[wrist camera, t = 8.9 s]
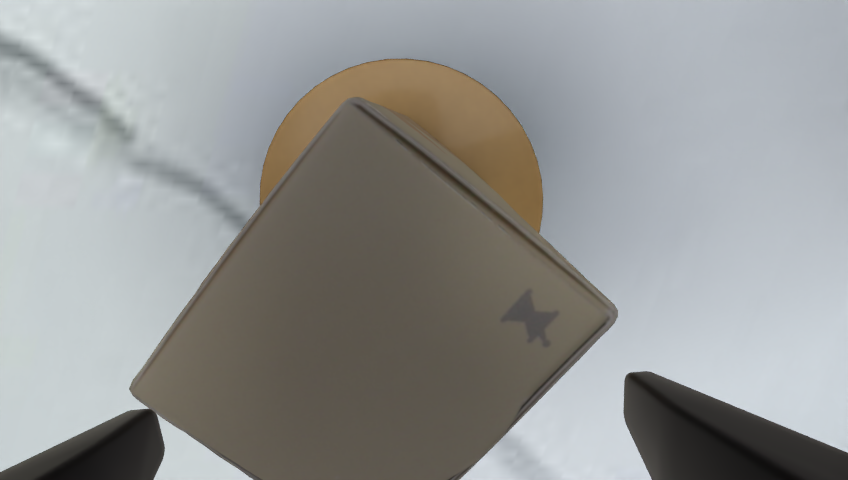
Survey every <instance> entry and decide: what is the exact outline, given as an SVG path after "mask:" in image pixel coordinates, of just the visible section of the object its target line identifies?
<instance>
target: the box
mask: <svg viewBox="0 0 848 480" xmlns="http://www.w3.org/2000/svg"><path fill="white" fill-rule="evenodd" d="M617 317H618V310H617V308H616V307H615V305H614V304H613V303H612V302H611V301H610V300H609V299H608V298H607V297H605V296H604V295H603V294H602V293H601V292H600V291H599V290H598V289H597V288H596V287H595V286H593V285H592V284H591V283H590V282H589V281H588V280H587V279H586V278H585V277H584V276H583V275H582V274H581V273H580V272H579V271H578V270H577V269H576V268H575V267H573V266H572V265H571V264H570V263H569V262H568V261H567V260H566V259H565V258H564V257H563V256H562V255H561V254H560V253H559V252H558V251H557V250H556V249H555V248H554V247H553V246H551V245H550V244H549V243H548V242H547V241H546V240H545V239H544V238H543V237H542V236H541V235H540V234H539V233H538V232H537V231H536V230H535V229H534V228H532V227H531V226H530V225H529V224H528V223H527V222H526V221H525V220H524V219H523V218H522V217H521V216H520V215H519V214H518V213H517V212H516V211H515V210H514V209H513V208H512V207H511V206H510V205H509V204H508V203H507V202H506V201H505V200H504V199H503V198H502V197H501V196H500V195H499V194H498V193H497V192H496V191H495V190H493V189H492V188H491V187H490V186H489V185H488V184H487V183H486V182H485V181H484V180H482V179H481V178H480V177H479V176H478V175H477V174H476V173H475V172H474V171H473V170H472V169H470V168H469V167H468V166H467V165H466V164H465V163H464V162H463V161H461V160H460V159H459V158H458V157H457V156H456V155H454V154H453V153H452V152H451V151H450V150H449V149H447V148H446V147H445V146H444V145H443V144H441V143H440V142H439V141H438V140H437V139H435V138H434V137H433V136H432V135H430V134H429V133H428V132H427V131H426V130H424V129H423V128H422V127H421V126H419V125H418V124H417V123H415V122H414V121H413V120H412V119H410V118H409V117H408V116H405V115H403V114H400V113H398V112H395V111H393V110H391V109H388V108H386V107H384V106H381V105H379V104H376V103H373V102H370V101H368V100H365V99H364V98H360V97H353V98H348V99H347V100H346V101H345V102H343V103H342V104H341V105H340V106H339V108H338V109H337V110H336V111H335V112H334V114H333V115H332V116H331V117H330V119H329V120H328V121H327V122H326V123H325V125H324V126H323V127H322V128H321V130H320V131H319V132H318V133H317V134H316V136H315V137H314V138H313V139H312V141H311V142H310V143H309V144H308V146H307V147H306V148H305V149H304V151H303V152H302V153H301V154H300V155H299V157H298V158H297V159H296V160H295V162H294V163H293V164H292V165H291V167H290V168H289V169H288V171H287V172H286V173H285V174H284V176H283V177H282V178H281V180H280V181H279V182H278V183H277V184H276V186H275V187H274V188H273V189H272V191H271V192H270V193H269V194H268V196H267V197H266V199H265V200H264V201H263V203H262V204H261V206H260V207H259V208H258V209H257V211H256V212H255V213H254V214H253V216H252V217H251V218H250V220H249V221H248V222H247V223H246V225H245V226H244V227H243V229H242V230H241V232H240V233H239V234H238V236H237V237H236V238H235V240H234V241H233V242H232V243H231V244H230V246H229V247H228V248H227V250H226V251H225V253H224V254H223V255H222V257H221V258H220V260H219V261H218V262H217V264H216V265H215V266H214V268H213V269H212V270H211V272H210V273H209V274H208V276H207V277H206V278H205V280H204V281H203V282H202V284H201V285H200V287H199V289H198V290H197V292H196V293H195V295H194V296H193V297H192V299H191V300H190V301H189V303H188V304H187V305H186V307H185V308H184V309H183V310H182V312H181V313H180V315H179V316H178V317H177V319H176V320H175V322H174V323H173V325H172V326H171V327H170V329H169V330H168V332H167V333H166V334H165V336H164V337H163V339H162V340H161V342H160V343H159V344H158V346H157V347H156V349H155V350H154V352H153V353H152V355H151V356H150V358H149V359H148V361H147V362H146V364H145V365H144V366H143V368H142V369H141V371H140V372H139V373H138V374H137V376H136V377H135V378H134V379H133V381H132V383H131V386H130V388H129V390H130V391H131V393H132V395H133V396H134V397H135V398H136V399H138V400H139V401H140V402H141V403H143V404H144V405H146V406H147V407H148V408H150V409H151V410H153V411H154V412H155V413H157V414H158V415H159V416H161V417H162V418H163V419H165V420H166V421H168V422H169V423H171V424H172V425H174V426H175V427H177V428H179V429H180V430H182V431H184V432H186V433H187V434H188V435H190V436H191V437H192V438H194V439H195V440H197V441H198V442H200V443H201V444H203V445H204V446H206V447H207V448H208V449H210V450H211V451H212V452H214V453H215V454H216V455H218V456H219V457H221V458H222V459H224V460H225V461H227V462H229V463H230V464H231V465H233V466H235V467H236V468H238V469H239V470H241V471H242V472H244V473H245V474H246V475H248V476H249V477H251V478H252V479H254V480H459V479H460V478H462V477H463V476H464V475H465V474H466V473H467V472H468V471H469V470H470V469H471V468H472V467H473V466H474V465H475V464H476V463H477V462H478V461H479V460H480V459H481V458H482V457H483V456H484V455H485V454H486V453H487V452H488V451H489V450H490V449H491V448H492V447H493V446H494V445H495V444H496V443H497V442H498V441H499V440H500V439H501V438H502V437H503V436H504V435H505V434H506V433H507V432H508V431H509V430H510V429H511V428H512V427H513V426H514V425H515V424H516V423H517V422H518V421H519V420H520V419H521V418H522V417H523V416H524V415H525V414H526V413H527V412H528V411H529V410H530V409H531V408H532V407H533V406H534V405H535V404H536V403H537V402H538V401H539V400H540V399H541V398H542V397H543V396H544V395H545V393H546V392H547V391H548V390H549V389H550V388H551V387H552V386H553V385H554V384H555V383H556V382H557V381H558V380H559V379H560V378H561V377H562V376H563V375H564V374H565V373H566V372H567V371H568V370H569V369H570V368H571V367H572V366H573V365H574V364H575V363H576V362H577V361H578V360H579V359H580V358H581V357H582V356H583V355H584V354H585V353H586V352H587V351H588V350H589V349H590V347H591V346H592V345H593V344H594V343H595V342H596V341H597V340H598V339H599V338H600V337H601V336H602V335H603V334H604V333H605V332H606V331H607V330H608V329H610V327H611V326H612V325H613V324H614V323H615V321H616V319H617Z"/></svg>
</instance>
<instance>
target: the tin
mask: <svg viewBox="0 0 848 480" xmlns="http://www.w3.org/2000/svg"><path fill="white" fill-rule="evenodd" d="M353 97H360V98H364V99H365V100H368V101H370V102H373V103H376V104H379V105H381V106H384V107H386V108H388V109H391V110H393V111H395V112H398V113H400V114H403V115H405V116H408V117H409V118H410V119H412V120H413V121H414V122H415V123H417V124H418V125H419V126H421V127H422V128H423V129H424V130H426V131H427V132H428V133H429V134H430V135H432V136H433V137H434V138H435V139H437V140H438V141H439V142H440V143H441V144H443V145H444V146H445V147H446V148H447V149H449V150H450V151H451V152H452V153H453V154H454V155H456V156H457V157H458V158H459V159H460V160H461V161H463V162H464V163H465V164H466V165H467V166H468V167H469V168H470V169H472V170H473V171H474V172H475V173H476V174H477V175H478V176H479V177H480V178H481V179H482V180H484V181H485V182H486V183H487V184H488V185H489V186H490V187H491V188H492V189H493V190H495V191H496V192H497V193H498V194H499V195H500V196H501V197H502V198H503V199H504V200H505V201H506V202H507V203H508V204H509V205H510V206H511V207H512V208H513V209H514V210H515V211H516V212H517V213H518V214H519V215H520V216H521V217H522V218H523V219H524V220H525V221H526V222H527V223H528V224H529V225H530V226H531V227H532V228H534V229H535V230H536V231H537V232H538V233H539V231H540V226H541V220H542V211H543V191H542V179H541V175H540V170H539V166H538V161H537V158H536V156H535V153H534V150H533V148H532V145H531V142H530V141H529V139H528V137H527V135H526V133H525V131H524V129H523V127H522V126H521V124H520V123H519V122H518V120H517V119H516V117H515V116H514V115H513V113H512V112H511V110H510V109H509V108H508V107H507V106H506V105H505V104H504V103H503V102H502V101H501V100H500V99H499V98H498V97H497V96H496V95H495V94H494V93H492V92H491V91H490V90H489V89H487V88H486V87H485V86H484V85H482V84H481V83H479V82H477V81H476V80H474V79H472V78H471V77H469V76H467V75H466V74H464V73H461V72H459V71H457V70H454V69H452V68H449V67H447V66H444V65H440V64H436V63H432V62H429V61H422V60H414V59H384V60H378V61H372V62H367V63H363V64H360V65H357V66H354V67H350V68H348V69H345V70H343V71H341V72H339V73H337V74H335V75H333V76H331V77H329V78H328V79H326V80H325V81H323V82H321V83H320V84H318V85H317V86H315V87H314V88H313V89H312V90H311V91H309V92H308V93H307V94H306V95H305V96H304V97H303V98H301V99H300V100H299V101H298V103H297V104H296V105H295V106H294V107H293V108H292V110H291V111H290V112H289V113H288V114H287V116H286V117H285V119H284V120H283V122H282V123H281V125H280V127H279V128H278V130H277V131H276V133H275V136H274V138H273V140H272V142H271V144H270V146H269V149H268V152H267V155H266V159H265V162H264V165H263V171H262V177H261V183H260V206H261V204H262V203H263V201H264V200H265V199H266V197H267V196H268V194H269V193H270V192H271V191H272V189H273V188H274V187H275V186H276V184H277V183H278V182H279V181H280V180H281V178H282V177H283V176H284V174H285V173H286V172H287V171H288V169H289V168H290V167H291V165H292V164H293V163H294V162H295V160H296V159H297V158H298V157H299V155H300V154H301V153H302V152H303V151H304V149H305V148H306V147H307V146H308V144H309V143H310V142H311V141H312V139H313V138H314V137H315V136H316V134H317V133H318V132H319V131H320V130H321V128H322V127H323V126H324V125H325V123H326V122H327V121H328V120H329V119H330V117H331V116H332V115H333V114H334V112H335V111H336V110H337V109H338V108H339V106H340V105H341V104H342V103H343V102H345V101H346V100H347V99H348V98H353Z"/></svg>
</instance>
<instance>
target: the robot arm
mask: <svg viewBox="0 0 848 480" xmlns="http://www.w3.org/2000/svg"><path fill="white" fill-rule="evenodd" d="M624 418H625V422H626V425H627V427H628V429H629V431H630V434H631V436H632V438H633V440H634V442H635V444H636V446H637V448H638V451H639V453H640V455H641V457H642V459H643V461H644V463H645V466H646V468H647V470H648V472H649V474H650V476H651V478H652V480H848V453H847V452H844V451H842V450H839V449H837V448H835V447H832V446H830V445H827V444H825V443H822V442H820V441H817V440H815V439H813V438H810V437H808V436H805V435H803V434H800V433H798V432H796V431H793V430H791V429H788V428H786V427H783V426H781V425H779V424H776V423H774V422H771V421H769V420H766V419H764V418H761V417H759V416H757V415H754V414H752V413H749V412H747V411H744V410H742V409H740V408H737V407H735V406H732V405H730V404H727V403H725V402H722V401H720V400H718V399H715V398H713V397H710V396H708V395H705V394H703V393H701V392H698V391H696V390H693V389H691V388H688V387H686V386H684V385H681V384H679V383H676V382H674V381H671V380H669V379H666V378H664V377H662V376H659V375H657V374H654V373H652V372H647V371H645V372H632V373H628V374H627V375H626V377H625V383H624ZM164 451H165V447H164V441H163V437H162V433H161V429H160V425H159V421H158V417H157V414H156V413H155V412H154V411H153V410H151V409H140V410H130V411H127V412H125V413H123V414H121V415H119V416H117V417H115V418H113V419H110V420H108V421H106V422H104V423H102V424H100V425H98V426H96V427H94V428H92V429H90V430H87V431H85V432H83V433H81V434H79V435H77V436H75V437H73V438H71V439H69V440H67V441H65V442H62V443H60V444H58V445H56V446H54V447H52V448H50V449H48V450H46V451H44V452H42V453H39V454H37V455H35V456H33V457H31V458H29V459H27V460H25V461H23V462H21V463H19V464H17V465H14V466H12V467H10V468H8V469H6V470H4V471H2V472H0V480H153V479H154V477H155V475H156V473H157V471H158V468H159V466H160V464H161V462H162V460H163V456H164Z"/></svg>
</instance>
